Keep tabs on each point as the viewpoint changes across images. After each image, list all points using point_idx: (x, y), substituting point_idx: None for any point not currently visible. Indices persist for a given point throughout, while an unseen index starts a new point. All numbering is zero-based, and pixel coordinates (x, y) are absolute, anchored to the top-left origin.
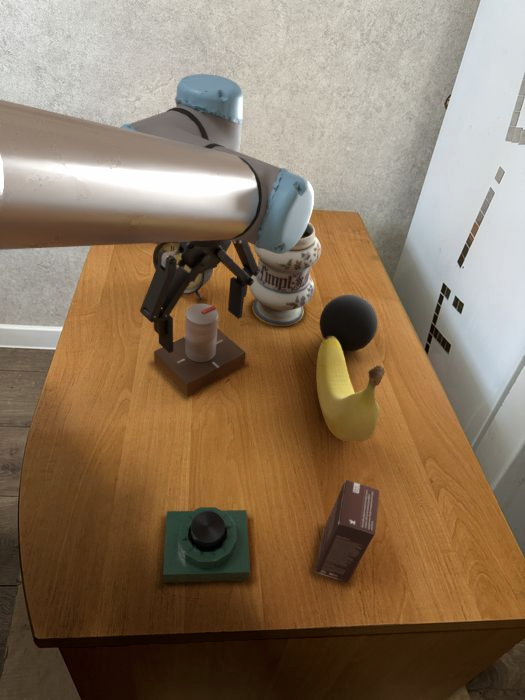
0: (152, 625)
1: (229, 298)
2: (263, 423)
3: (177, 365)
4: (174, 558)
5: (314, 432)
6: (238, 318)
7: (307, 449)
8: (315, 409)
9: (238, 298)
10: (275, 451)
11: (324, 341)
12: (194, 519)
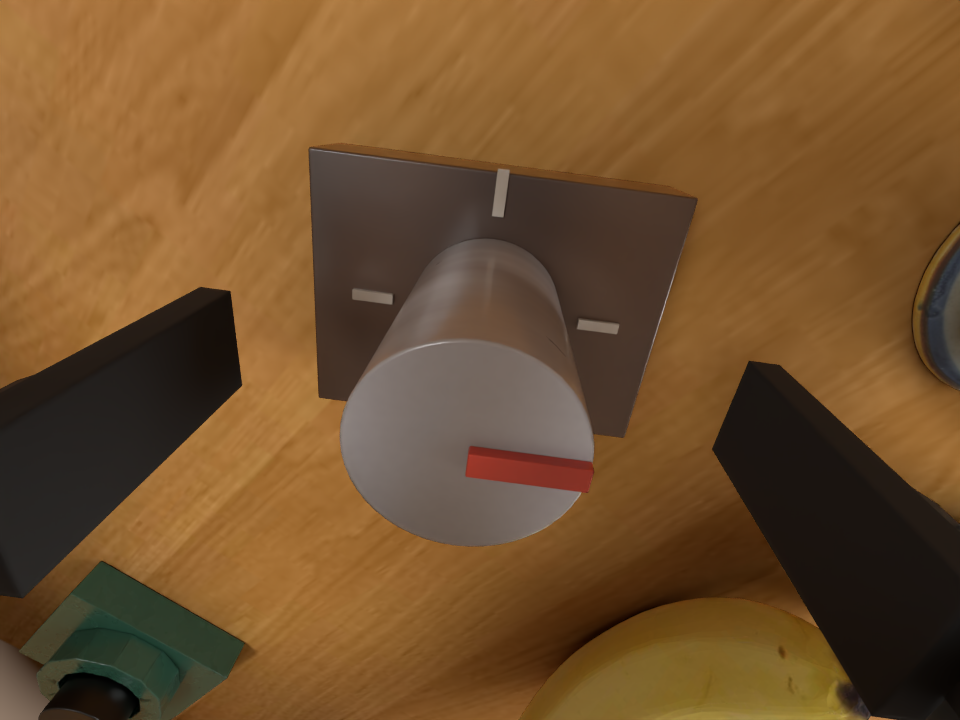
0: (10, 640)
1: (802, 427)
2: (454, 557)
3: (345, 303)
4: (49, 649)
5: (527, 638)
6: (713, 450)
7: (473, 647)
8: (596, 613)
9: (795, 555)
10: (411, 610)
11: (824, 689)
12: (53, 711)
